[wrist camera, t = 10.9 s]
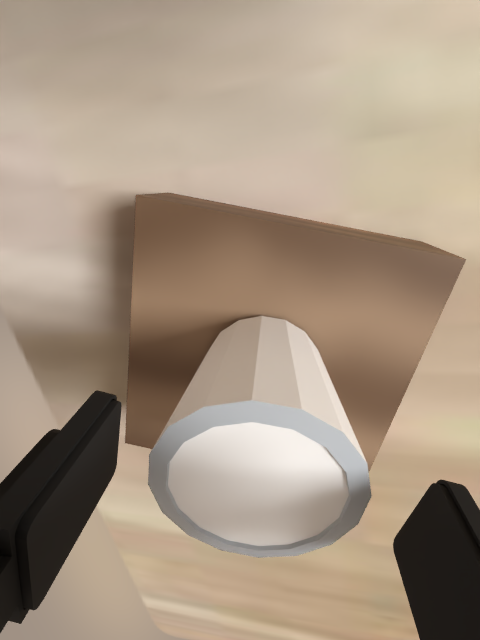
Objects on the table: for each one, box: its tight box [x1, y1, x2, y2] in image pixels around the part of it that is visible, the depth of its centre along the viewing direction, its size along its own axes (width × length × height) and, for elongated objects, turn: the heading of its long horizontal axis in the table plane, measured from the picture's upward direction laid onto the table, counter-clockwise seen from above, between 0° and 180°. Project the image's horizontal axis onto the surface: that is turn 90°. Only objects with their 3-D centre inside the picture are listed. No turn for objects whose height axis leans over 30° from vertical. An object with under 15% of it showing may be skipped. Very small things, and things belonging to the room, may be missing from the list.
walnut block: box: [125, 193, 466, 473], centre depth 19 cm, size 14×14×5 cm
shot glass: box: [148, 316, 371, 558], centre depth 13 cm, size 7×7×7 cm
